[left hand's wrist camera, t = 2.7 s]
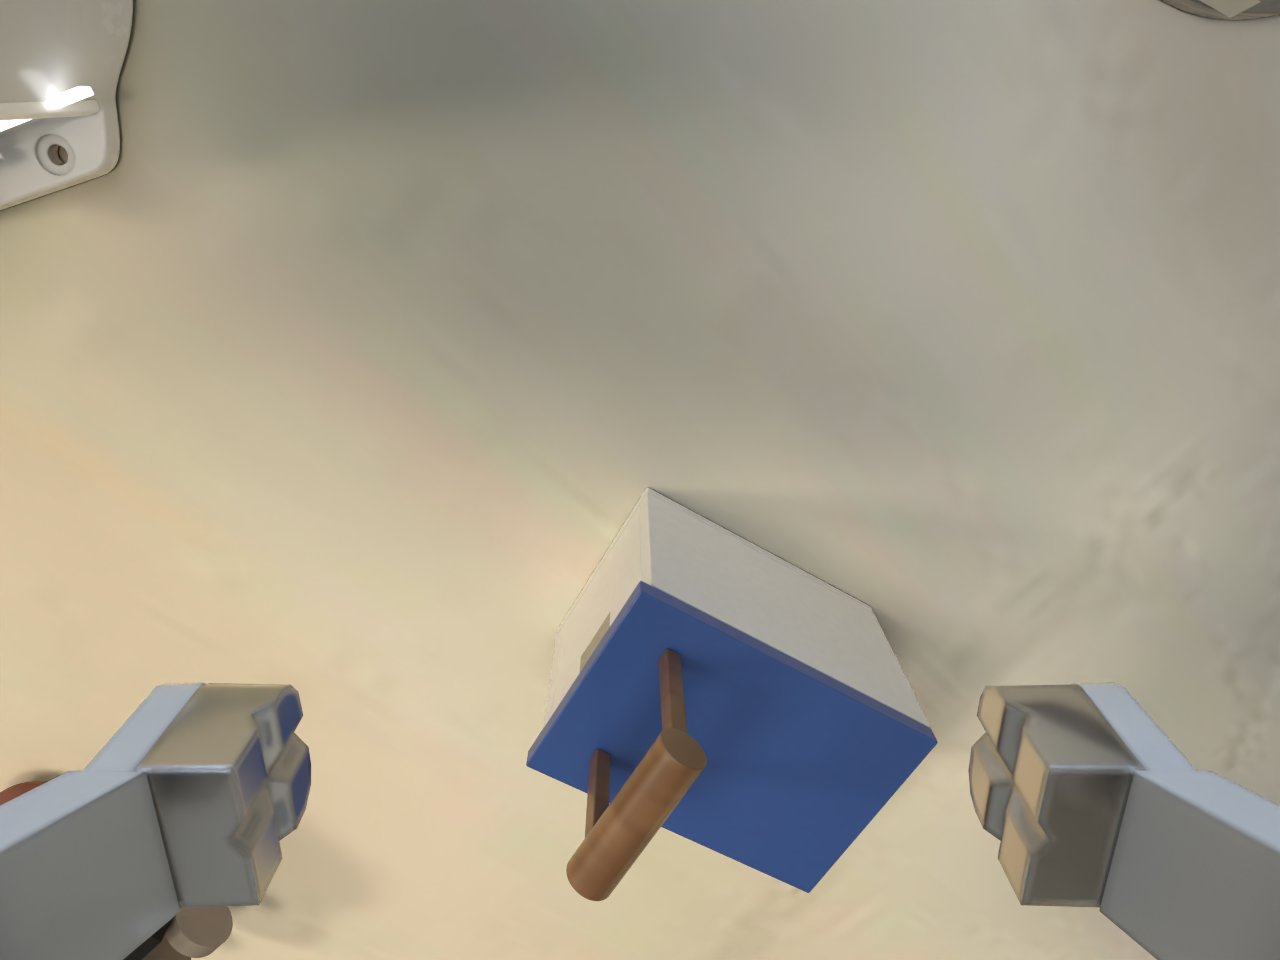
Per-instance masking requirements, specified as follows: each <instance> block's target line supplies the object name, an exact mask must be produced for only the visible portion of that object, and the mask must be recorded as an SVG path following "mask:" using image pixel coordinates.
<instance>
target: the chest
mask: <svg viewBox="0 0 1280 960" xmlns="http://www.w3.org/2000/svg"><path fill="white" fill-rule="evenodd" d="M640 581H643V582H645V583H647V584H649V585H651V586H653V587H655V588H657V589H659V590H661V591H663V592H664V593H666V594H668V595H670V596H672V597H674V598H676V599H678V600H680V601H682V602H684V603H686V604H688V605H690V606H692V607H694V608H696V609H698V610H700V611H702V612H704V613H706V614H708V615H709V616H711V617H713V618H715V619H717V620H719V621H721V622H723V623H725V624H727V625H729V626H731V627H733V628H735V629H737V630H739V631H741V632H743V633H745V634H747V635H749V636H751V637H753V638H755V639H756V640H758V641H760V642H762V643H764V644H766V645H768V646H770V647H772V648H774V649H776V650H778V651H780V652H782V653H784V654H786V655H788V656H790V657H792V658H794V659H796V660H798V661H800V662H802V663H803V664H805V665H807V666H809V667H811V668H813V669H815V670H817V671H819V672H821V673H823V674H825V675H827V676H829V677H831V678H833V679H835V680H837V681H839V682H841V683H843V684H845V685H847V686H848V687H850V688H852V689H854V690H856V691H858V692H860V693H862V694H864V695H866V696H868V697H870V698H872V699H874V700H876V701H878V702H880V703H882V704H884V705H886V706H888V707H890V708H892V709H894V710H895V711H897V712H899V713H901V714H903V715H905V716H907V717H909V718H911V719H913V720H915V721H917V722H919V723H921V724H923V725H925V726H927V727H929V728H930V725H929V723H928V721H927V719H926V717H925V715H924V713H923V711H922V709H921V707H920V705H919V703H918V701H917V699H916V697H915V695H914V693H913V691H912V689H911V687H910V685H909V683H908V681H907V679H906V677H905V675H904V673H903V671H902V669H901V667H900V665H899V663H898V661H897V659H896V656H895V654H894V652H893V650H892V648H891V646H890V644H889V642H888V640H887V638H886V636H885V634H884V632H883V630H882V628H881V626H880V624H879V622H878V620H877V618H876V616H875V614H874V613H873V611H872V609H871V607H870V606H868V605H866V604H865V603H863V602H861V601H859V600H857V599H855V598H853V597H852V596H850V595H848V594H846V593H844V592H842V591H840V590H838V589H837V588H835V587H833V586H831V585H829V584H827V583H825V582H824V581H822V580H820V579H818V578H816V577H814V576H812V575H810V574H809V573H807V572H805V571H803V570H801V569H799V568H797V567H796V566H794V565H792V564H790V563H788V562H786V561H784V560H782V559H781V558H779V557H777V556H775V555H773V554H771V553H769V552H767V551H766V550H764V549H762V548H760V547H758V546H756V545H754V544H753V543H751V542H749V541H747V540H745V539H743V538H741V537H739V536H738V535H736V534H734V533H732V532H730V531H728V530H726V529H725V528H723V527H721V526H719V525H717V524H715V523H713V522H711V521H710V520H708V519H706V518H704V517H702V516H700V515H698V514H696V513H695V512H693V511H691V510H689V509H687V508H685V507H683V506H682V505H680V504H678V503H676V502H674V501H672V500H670V499H668V498H667V497H665V496H663V495H661V494H659V493H657V492H655V491H654V490H652V489H650V488H646V489H645V491H644V493H643V494H642V496H641V497H640V499H639V501H638V502H637V504H636V505H635V507H634V508H633V510H632V512H631V513H630V515H629V516H628V518H627V520H626V521H625V523H624V524H623V526H622V527H621V529H620V531H619V532H618V534H617V535H616V537H615V539H614V540H613V542H612V543H611V545H610V546H609V548H608V550H607V551H606V553H605V554H604V556H603V558H602V559H601V561H600V562H599V564H598V566H597V567H596V569H595V570H594V572H593V573H592V575H591V577H590V578H589V580H588V581H587V583H586V585H585V586H584V588H583V589H582V591H581V592H580V594H579V596H578V597H577V599H576V600H575V602H574V604H573V605H572V607H571V608H570V610H569V611H568V613H567V615H566V616H565V618H564V619H563V621H562V623H561V624H560V626H559V627H558V629H557V635H556V641H555V648H554V655H553V662H552V669H551V676H550V683H549V690H548V697H547V704H546V712H545V719H544V726H543V728H544V727H545V725H546V724H547V722H548V721H549V719H550V718H551V716H552V715H553V713H554V711H555V710H556V708H557V707H558V705H559V704H560V702H561V701H562V699H563V698H564V696H565V695H566V693H567V692H568V690H569V689H570V687H571V685H572V684H573V682H574V681H575V679H576V678H577V676H578V675H579V673H580V672H581V670H582V669H583V667H584V666H585V664H586V663H587V661H588V660H589V658H590V656H591V655H592V653H593V652H594V650H595V649H596V647H597V646H598V644H599V643H600V641H601V640H602V638H603V637H604V635H605V634H606V632H607V631H608V629H609V627H610V626H611V624H612V623H613V621H614V620H615V618H616V617H617V615H618V614H619V612H620V611H621V609H622V608H623V606H624V605H625V603H626V601H627V600H628V598H629V597H630V595H631V594H632V592H633V591H634V589H635V588H636V586H637V585H638V583H639V582H640Z"/></svg>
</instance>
